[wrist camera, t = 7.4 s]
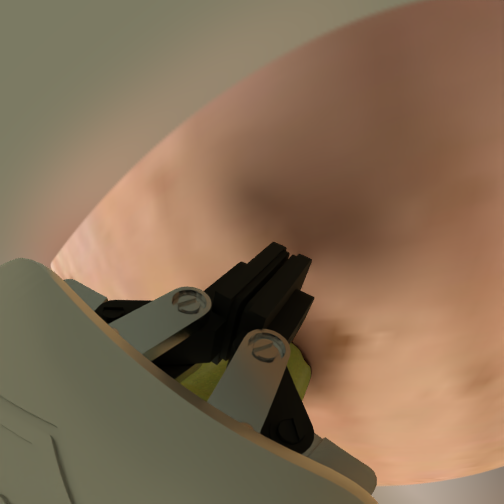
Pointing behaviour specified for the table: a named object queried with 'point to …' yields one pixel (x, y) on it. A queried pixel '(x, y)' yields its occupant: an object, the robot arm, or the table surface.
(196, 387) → the plant pot
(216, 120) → the table surface
